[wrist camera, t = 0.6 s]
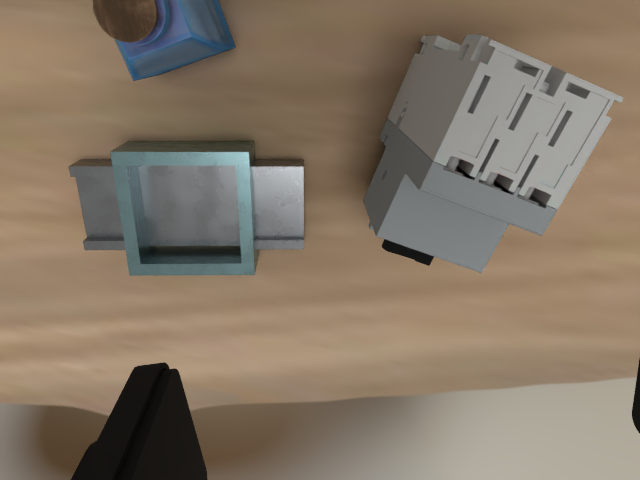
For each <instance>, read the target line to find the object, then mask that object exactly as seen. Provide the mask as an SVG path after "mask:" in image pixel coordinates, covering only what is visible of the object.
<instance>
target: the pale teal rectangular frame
mask: <svg viewBox="0 0 640 480" xmlns="http://www.w3.org/2000/svg"><path fill="white" fill-rule="evenodd" d="M110 153H111V160H80V161H78V162H76V163H74V164H72V165H70V166H69V171H70V176H71V177H76V181H77V187H78V192H79V197H80V203H81V208H82V213H83V218H84V224H85V229H86V234H87V238H86V239H85V240H84V241H83V244H84V249H85V250H126V255H127V261H128V268H129V274H130V275H255V271H256V266H257V261H258V256H259V249H304V160H255V153H254V141H128V142H126V143H125V144H123V145H121V146H119V147H118V148H116V149H114V150H113V151H111V152H110Z"/></svg>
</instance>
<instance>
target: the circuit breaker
mask: <svg viewBox="0 0 640 480" xmlns="http://www.w3.org/2000/svg"><path fill="white" fill-rule="evenodd" d="M420 42H422V43H424V44H423V46H422V49H421V51H420V53H419V54H416V53H415V54H414V56H413V59H412V61H411V64H410V66H409V68H408V71H407V73H406V75H405V78H404V80H403V82H402V85H401V87H400V89H399V92H398V94H397V96H396V99H395V101H394V104H393V106H392V108H391V111H390V113H389V115H388V118H387V120H386V122H385V125H384V127H383V129H382V132H381V134H380V137H379V138H380V139H381V141H382V142H383V143H384V145H385V146H386V149H385V151H384V153H383V155H382V158H381V160H380V162H379V165H378V167H377V169H376V172H375V174H374V176H373V179H372V181H371V183H370V186H369V188H368V190H367V193H366V195H365V197H364V200H363V201H364V204H365V207H366V210H367V213H368V215H369V218H370V223H369V228H370V229H371V230H374V232H375V234H376V236H377V237H380V238H383V239H385V240H384V242H383V244H382V248H383V249H385V250H386V251H388V252H392V253H395V254H399V255H402V256H405V257H408V258H411V259H414V260H415V261H417V262H420V263H423V264H426V265H430V263H431V261H432V260H433V258H434V257H437V258H440V259H443V260H445V261H448V262H451V263H454V264H457V265H460V266H463V267H465V268H468V269H471V270H474V271H477V272H480V273H481V272H482V271H483V269H484V268H485V266H486V264H487V262H488V261H489V259H490V257H491V255H492V253H493V252H494V250H495V248H496V246H497V245H498V243H499V241H500V239H501V237H502V236H503V234H504V232H505V230H506V229H507V227H508V225H509V224H511V225H514V226H516V227H519V228H522V229H524V230H527V231H530V232H532V233H535V234H538V235H540V236H541V235H543V233H544V232H545V230H546V228H547V227H548V225H549V223H550V222H551V220H552V218H553V217H554V215H555V213H556V211H557V209H558V208H559V206H560V205H561V203H562V201H563V200H564V198H565V196H566V195H567V193H568V191H569V190H570V188H571V186H572V184H573V183H574V181H575V179H576V178H577V176H578V174H579V173H580V171H581V169H582V168H583V166H584V164H585V163H586V161H587V159H588V157H589V156H590V154H591V152H592V151H593V149H594V147H595V146H596V144H597V142H598V141H599V139H600V137H601V136H602V134H603V132H604V130H605V129H606V127H607V125H608V124H609V122H610V120H611V119H612V118H610V117H607V116H605V115H606V114H607V112H608V110H609V108H610V107H611V105H612V103H613V102H614V100H615V101H617V102H620V103H621V102H622V100H623V97H621V96H619V95H616V94H614V93H612V92H610V91H607V90H605V89H603V88H601V87H598V86H596V85H594V84H591V83H589V82H587V81H585V80H582V79H580V78H578V77H576V76H573V75H571V74H569V73H567V72H564V71H562V70H560V69H557V68H555V67H553V66H551V65H548V64H546V63H544V62H542V61H539V60H537V59H535V58H533V57H530V56H528V55H526V54H523V53H521V52H519V51H517V50H514V49H512V48H510V47H508V46H505V45H503V44H501V43H498V42H496V41H494V40H492V39H490V38H487V37H485V36H483V35H480V34H466V36H465V38H464V40H463V42H462V45H459V44H457V43H455V42H452V41H450V40H448V39H445V38H443V37H441V36H439V35H427V37H426V36H422V38H421V40H420ZM555 208H556V209H555Z"/></svg>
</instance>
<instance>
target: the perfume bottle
mask: <svg viewBox="0 0 640 480" xmlns="http://www.w3.org/2000/svg"><path fill="white" fill-rule="evenodd" d="M93 10H94V13H95V17H96V20H97V21H98V23H99V25H100V26H101V28H102V29H103V30H104V31H105V32H106V33H107V34H108V35H109V36H110V37H112V38H114V39H115V41H116V43H117V45H118V48H119V50H120V52H121V54H122V56H123V59H124V61H125V63H126V65H127V67H128V70H129V72H130V74H131V76H132V78H133V81H136V80H140V79H144V78H148V77H152V76H156V75H160V74H163V73H166V72H168V71H171V70H174V69H177V68H180V67H182V66H185V65H188V64H191V63H194V62H196V61H199V60H202V59H205V58H208V57H210V56H213V55H216V54H219V53H221V52H224V51H227V50H230V49H233V48H235V44H234V42H233V39H232V36H231V33H230V31H229V28H228V25H227V23H226V20H225V17H224V14H223V12H222V9H221V6H220V3H219V1H218V0H93Z"/></svg>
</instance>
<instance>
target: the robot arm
mask: <svg viewBox="0 0 640 480" xmlns="http://www.w3.org/2000/svg"><path fill="white" fill-rule="evenodd" d="M632 418H633V422H634V425H635V427H636V429H637V430H638V431H639V433H640V360H639V367H638V374H637V382H636V388H635V395H634V402H633V409H632ZM71 480H207V471H206V467H205V463H204V460H203V456H202V452H201V449H200V445H199V442H198V438H197V435H196V431H195V428H194V424H193V420H192V417H191V413H190V410H189V406H188V403H187V399H186V396H185V392H184V389H183V385H182V381H181V378H180V375H179V372H178V370H177V369H169V366H168V365H167V364H166V363H157V364H150V365H142V366H137V367H135V368H134V369H133V371H132V373H131V375H130V377H129V379H128V381H127V383H126V385H125V387H124V389H123V390H122V392H121V394H120V396H119V398H118V400H117V402H116V404H115V406H114V408H113V410H112V412H111V414H110V416H109V418H108V420H107V422H106V424H105V426H104V428H103V430H102V432H101V435H100V436H99V438H98V440H97V441H95V442H94V443H92V444H91V445H90V446H89V447H88V449H87V450H86V452H85V454H84V456H83V458H82V459H81V461H80V463H79V465H78V467H77V469H76V471H75V473H74V475H73V477H72V479H71Z"/></svg>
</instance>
